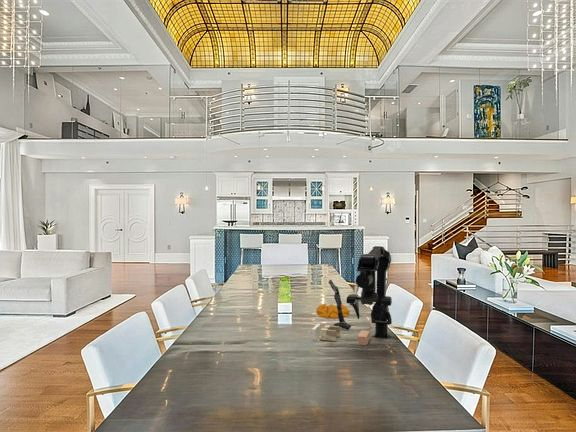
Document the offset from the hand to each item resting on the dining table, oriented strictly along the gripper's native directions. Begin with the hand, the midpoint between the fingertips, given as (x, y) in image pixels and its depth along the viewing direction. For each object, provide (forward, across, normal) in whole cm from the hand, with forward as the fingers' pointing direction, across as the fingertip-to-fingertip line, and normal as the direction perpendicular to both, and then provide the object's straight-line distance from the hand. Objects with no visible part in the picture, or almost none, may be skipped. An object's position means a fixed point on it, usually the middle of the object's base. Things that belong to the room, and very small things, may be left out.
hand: (369, 319), depth 179 cm
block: (+13, -20, +11) cm, 26 cm away
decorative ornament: (+15, -30, +61) cm, 69 cm away
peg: (+14, -4, +10) cm, 17 cm away
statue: (+14, -19, +31) cm, 39 cm away
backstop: (+13, -27, +11) cm, 32 cm away
